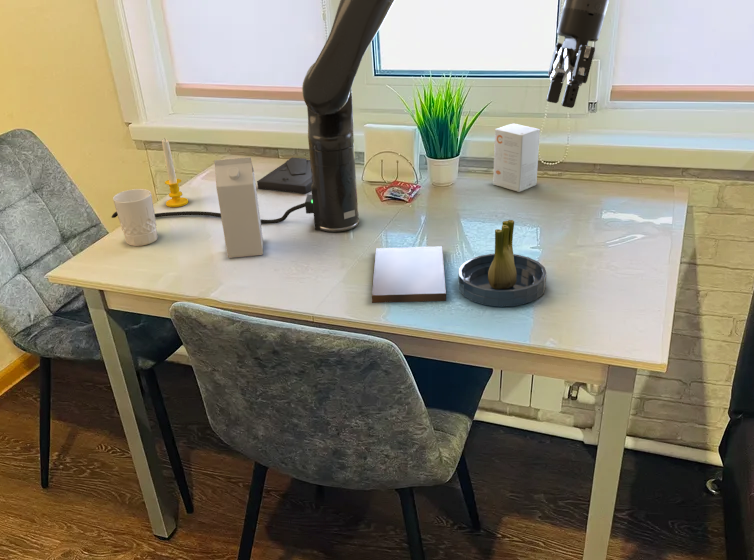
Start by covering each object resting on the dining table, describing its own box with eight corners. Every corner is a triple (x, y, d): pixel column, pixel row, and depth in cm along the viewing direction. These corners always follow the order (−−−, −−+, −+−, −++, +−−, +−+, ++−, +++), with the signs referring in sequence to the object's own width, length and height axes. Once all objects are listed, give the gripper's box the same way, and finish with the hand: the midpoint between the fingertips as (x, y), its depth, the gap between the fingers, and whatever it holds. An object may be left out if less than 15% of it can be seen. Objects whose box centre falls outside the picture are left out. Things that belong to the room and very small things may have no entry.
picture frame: (292, 165, 204) (257, 188, 191) (291, 157, 203) (256, 179, 190) (338, 169, 199) (306, 194, 186) (337, 161, 198) (305, 184, 185)
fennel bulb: (496, 295, 137) (499, 231, 130) (479, 285, 141) (481, 222, 134) (523, 287, 139) (527, 223, 132) (506, 277, 143) (509, 214, 136)
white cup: (167, 235, 170) (158, 190, 165) (145, 249, 164) (135, 204, 159) (138, 230, 173) (128, 187, 168) (116, 245, 167) (104, 200, 162)
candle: (192, 201, 187) (180, 135, 178) (177, 208, 183) (164, 142, 174) (176, 198, 189) (164, 133, 180) (161, 205, 186) (148, 139, 177)
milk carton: (229, 244, 164) (215, 154, 153) (263, 241, 164) (251, 151, 153) (227, 258, 158) (212, 166, 147) (263, 255, 158) (250, 162, 147)
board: (372, 302, 138) (371, 295, 137) (376, 255, 155) (375, 248, 154) (446, 301, 137) (446, 293, 136) (442, 253, 154) (442, 246, 153)
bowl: (460, 309, 134) (461, 292, 133) (456, 270, 147) (456, 254, 145) (550, 306, 133) (552, 290, 131) (538, 268, 146) (539, 252, 144)
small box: (537, 185, 181) (541, 128, 174) (518, 192, 178) (522, 135, 171) (510, 177, 187) (513, 122, 179) (492, 184, 183) (494, 128, 176)
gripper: (551, 6, 145) (528, 97, 152) (579, 5, 132) (552, 105, 139) (589, 14, 146) (565, 104, 153) (620, 13, 134) (592, 112, 140)
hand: (559, 104), depth 146 cm, fingers open, 8 cm apart
